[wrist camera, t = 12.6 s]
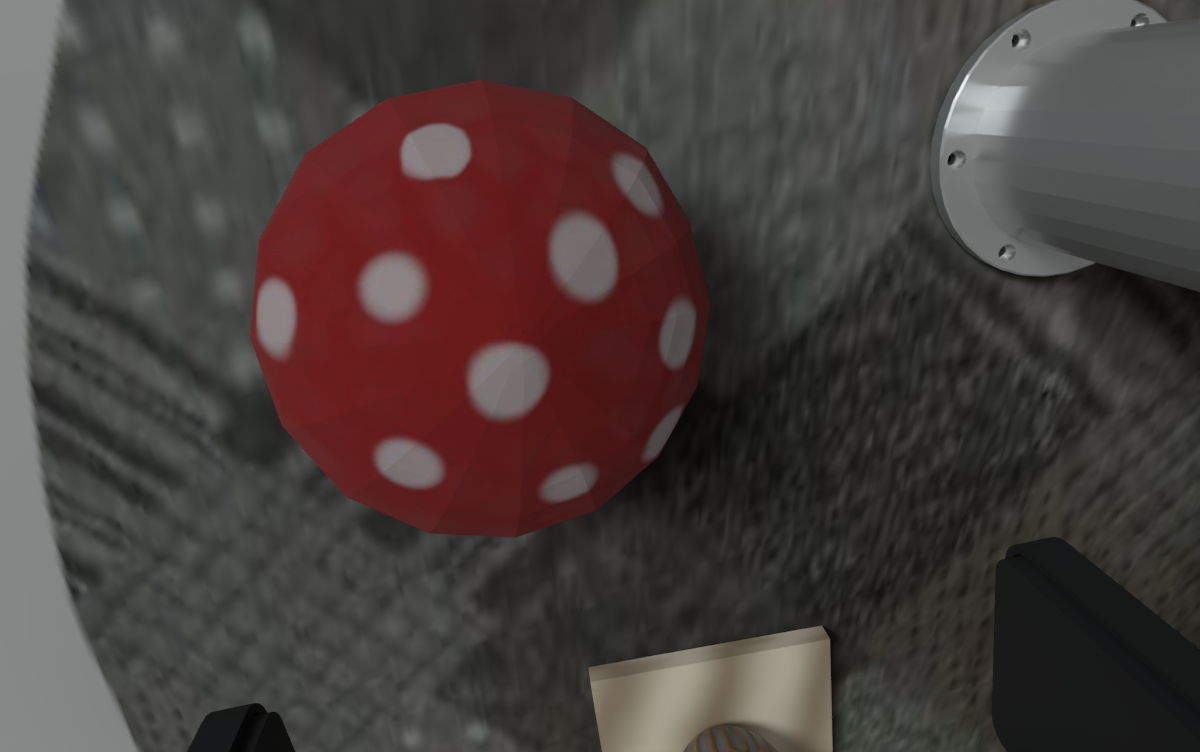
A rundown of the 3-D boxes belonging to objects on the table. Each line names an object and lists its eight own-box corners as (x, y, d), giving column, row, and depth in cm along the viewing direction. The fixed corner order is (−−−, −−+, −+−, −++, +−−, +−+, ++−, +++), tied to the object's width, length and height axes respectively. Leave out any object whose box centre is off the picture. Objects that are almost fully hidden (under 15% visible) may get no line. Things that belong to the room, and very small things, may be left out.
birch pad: (822, 625, 45) (830, 638, 44) (826, 798, 50) (833, 814, 49) (588, 667, 44) (590, 682, 43) (617, 838, 49) (619, 855, 48)
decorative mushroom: (299, 86, 32) (132, 77, 18) (670, 81, 33) (784, 69, 19) (347, 431, 37) (249, 630, 23) (664, 413, 39) (749, 590, 25)
